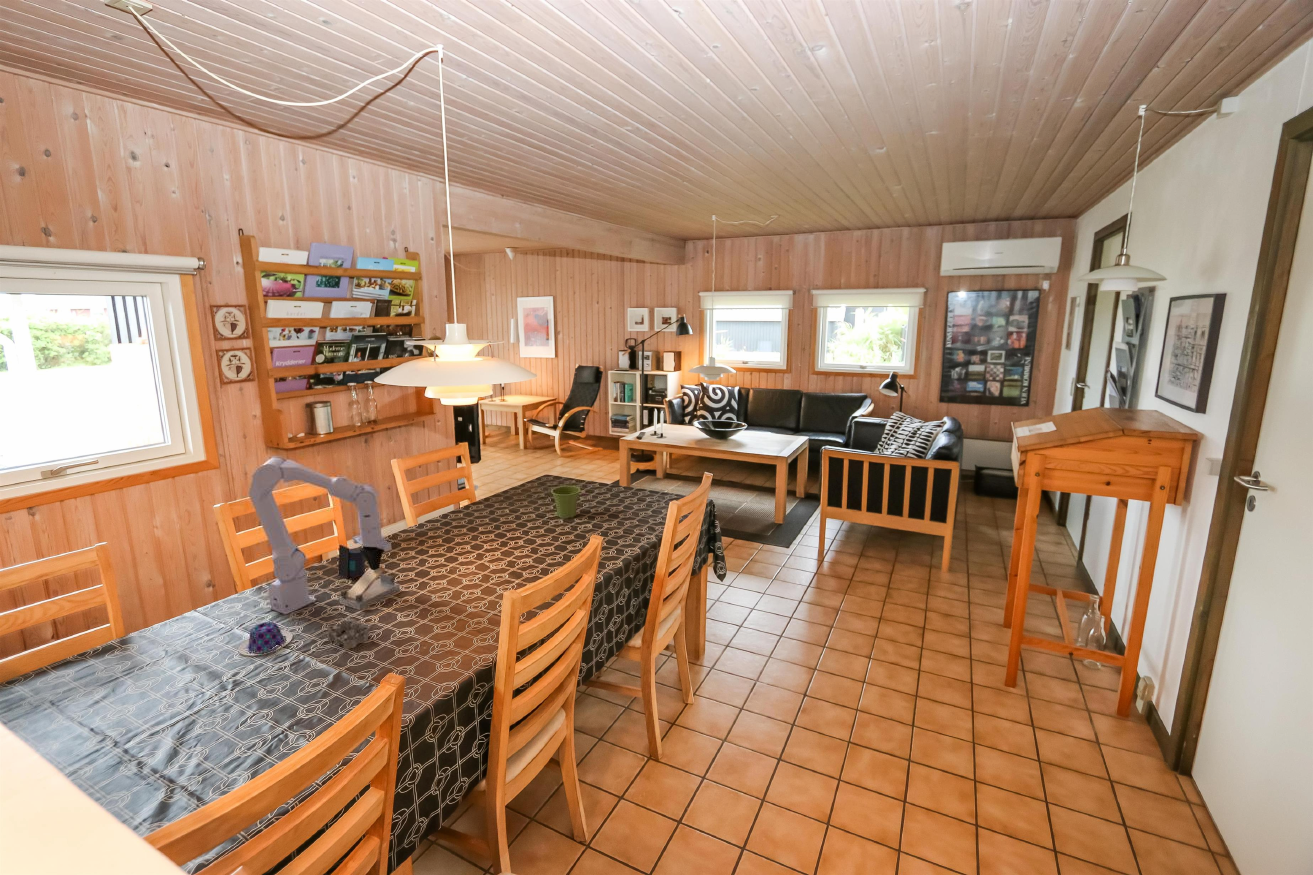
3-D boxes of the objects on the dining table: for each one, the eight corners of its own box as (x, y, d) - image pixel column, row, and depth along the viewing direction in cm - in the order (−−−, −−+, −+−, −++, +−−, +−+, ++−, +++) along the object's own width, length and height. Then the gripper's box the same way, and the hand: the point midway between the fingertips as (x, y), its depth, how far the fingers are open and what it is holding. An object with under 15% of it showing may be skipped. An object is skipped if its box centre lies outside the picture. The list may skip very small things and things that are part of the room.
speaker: (340, 581, 193) (340, 549, 192) (338, 575, 198) (337, 544, 196) (366, 577, 197) (366, 546, 196) (363, 571, 202) (363, 541, 201)
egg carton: (324, 639, 161) (322, 626, 160) (351, 627, 167) (349, 613, 166) (346, 652, 155) (344, 637, 154) (373, 638, 161) (372, 624, 160)
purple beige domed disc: (247, 636, 162) (244, 619, 161) (297, 629, 166) (295, 612, 165) (232, 661, 151) (228, 642, 150) (286, 653, 155) (283, 634, 154)
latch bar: (357, 600, 177) (356, 599, 176) (346, 596, 179) (344, 595, 179) (384, 569, 184) (383, 567, 184) (373, 566, 186) (372, 564, 186)
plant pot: (553, 511, 257) (552, 486, 255) (581, 510, 258) (580, 485, 256) (551, 521, 246) (550, 495, 243) (580, 520, 247) (580, 494, 244)
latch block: (360, 610, 176) (358, 597, 175) (339, 603, 180) (338, 591, 179) (399, 590, 188) (398, 578, 187) (379, 584, 192) (378, 572, 191)
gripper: (398, 525, 181) (402, 567, 184) (365, 518, 188) (370, 559, 191) (377, 534, 175) (383, 577, 178) (344, 525, 182) (350, 567, 185)
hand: (375, 568), depth 184 cm, fingers closed, pressing on latch bar
